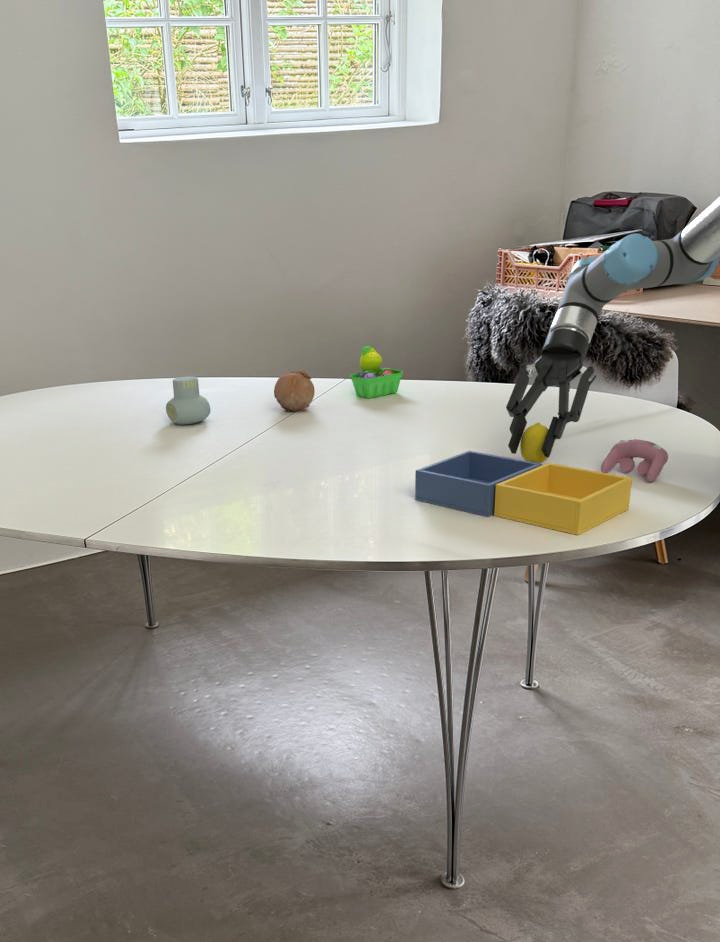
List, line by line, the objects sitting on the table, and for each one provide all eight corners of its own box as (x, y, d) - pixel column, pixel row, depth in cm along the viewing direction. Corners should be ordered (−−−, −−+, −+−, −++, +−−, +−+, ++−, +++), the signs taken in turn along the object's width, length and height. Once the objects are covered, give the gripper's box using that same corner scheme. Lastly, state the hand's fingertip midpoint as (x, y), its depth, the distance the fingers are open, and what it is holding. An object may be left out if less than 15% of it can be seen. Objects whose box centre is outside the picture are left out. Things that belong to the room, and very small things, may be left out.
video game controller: (661, 487, 161) (675, 447, 160) (651, 481, 157) (665, 440, 156) (607, 477, 168) (620, 438, 167) (596, 471, 164) (609, 432, 163)
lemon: (512, 468, 171) (515, 424, 168) (530, 460, 175) (532, 417, 171) (540, 473, 168) (543, 428, 164) (557, 465, 171) (560, 421, 167)
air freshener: (214, 423, 219) (211, 379, 215) (181, 429, 216) (177, 384, 212) (196, 415, 228) (192, 372, 224) (164, 420, 225) (159, 377, 221)
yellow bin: (628, 509, 148) (632, 477, 145) (578, 535, 139) (581, 502, 137) (546, 492, 158) (548, 462, 156) (494, 515, 149) (495, 484, 147)
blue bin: (540, 493, 158) (542, 463, 155) (488, 516, 149) (489, 485, 147) (467, 478, 168) (468, 450, 165) (414, 499, 159) (415, 470, 157)
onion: (306, 419, 229) (321, 378, 227) (304, 417, 220) (320, 375, 218) (270, 405, 230) (284, 365, 227) (266, 403, 220) (281, 361, 218)
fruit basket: (367, 400, 229) (366, 352, 224) (346, 395, 236) (345, 348, 232) (404, 392, 234) (405, 345, 229) (383, 387, 241) (382, 341, 236)
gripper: (623, 353, 169) (584, 467, 165) (524, 349, 179) (484, 456, 175) (617, 327, 163) (576, 445, 159) (514, 325, 173) (473, 435, 169)
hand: (528, 451), depth 167 cm, fingers closed on lemon, 5 cm apart
